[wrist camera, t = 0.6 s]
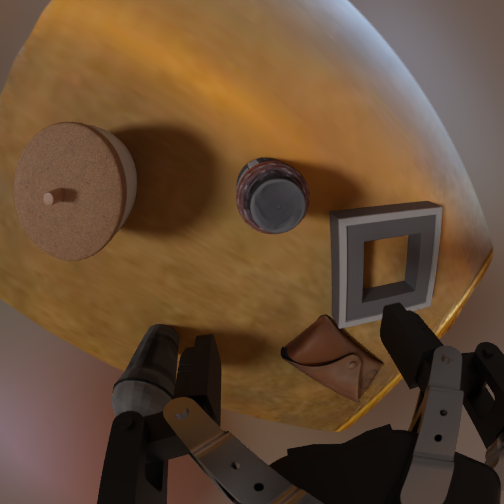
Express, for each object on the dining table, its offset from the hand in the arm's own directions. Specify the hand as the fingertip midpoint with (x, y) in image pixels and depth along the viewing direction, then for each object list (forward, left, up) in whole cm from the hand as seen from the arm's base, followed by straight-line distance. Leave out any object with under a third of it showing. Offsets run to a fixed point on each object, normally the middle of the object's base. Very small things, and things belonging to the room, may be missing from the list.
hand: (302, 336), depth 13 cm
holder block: (+7, +15, -21) cm, 27 cm away
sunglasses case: (+23, +9, -22) cm, 33 cm away
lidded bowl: (-8, -17, -21) cm, 28 cm away
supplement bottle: (-4, +1, -21) cm, 21 cm away
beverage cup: (+14, -15, -21) cm, 30 cm away
